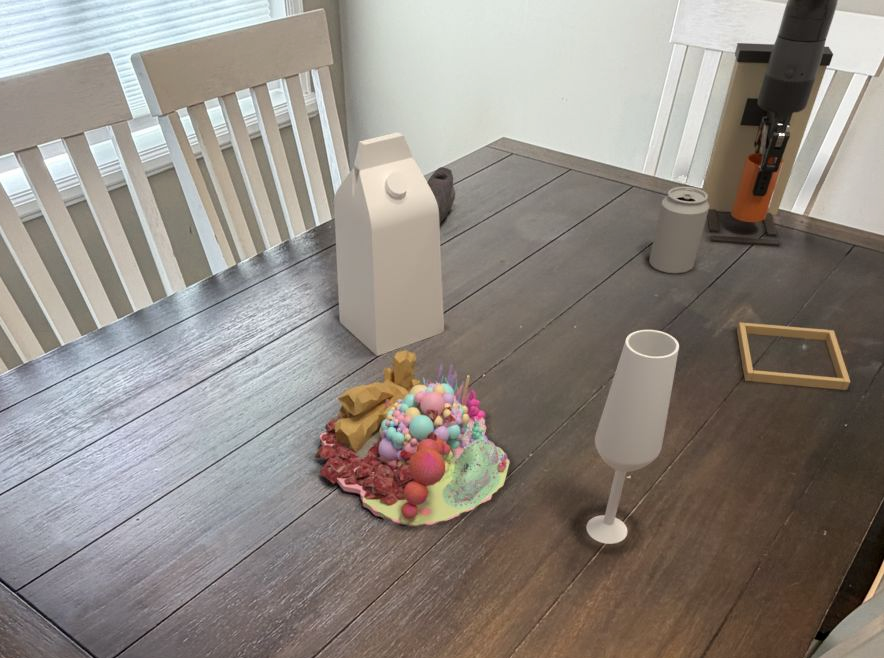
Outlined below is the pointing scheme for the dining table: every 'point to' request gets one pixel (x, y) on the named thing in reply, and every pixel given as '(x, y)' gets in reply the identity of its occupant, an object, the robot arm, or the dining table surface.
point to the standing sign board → (750, 138)
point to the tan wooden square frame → (786, 378)
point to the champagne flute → (634, 418)
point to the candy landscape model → (413, 447)
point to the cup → (745, 201)
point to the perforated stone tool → (442, 190)
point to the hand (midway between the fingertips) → (756, 187)
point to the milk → (388, 248)
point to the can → (679, 230)
